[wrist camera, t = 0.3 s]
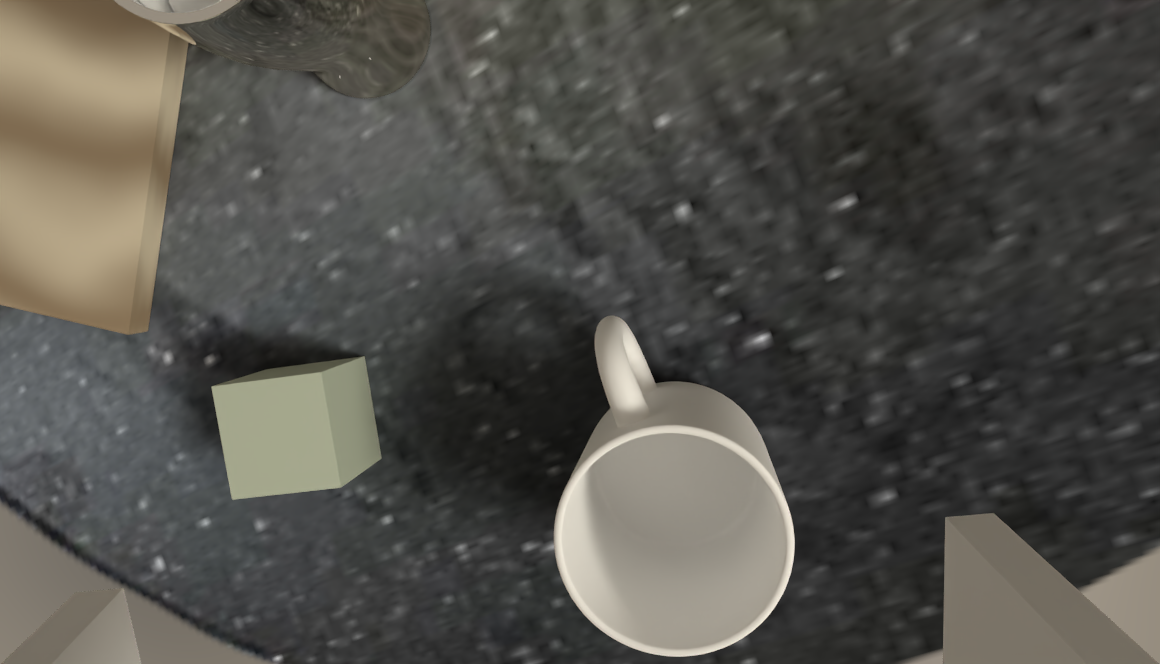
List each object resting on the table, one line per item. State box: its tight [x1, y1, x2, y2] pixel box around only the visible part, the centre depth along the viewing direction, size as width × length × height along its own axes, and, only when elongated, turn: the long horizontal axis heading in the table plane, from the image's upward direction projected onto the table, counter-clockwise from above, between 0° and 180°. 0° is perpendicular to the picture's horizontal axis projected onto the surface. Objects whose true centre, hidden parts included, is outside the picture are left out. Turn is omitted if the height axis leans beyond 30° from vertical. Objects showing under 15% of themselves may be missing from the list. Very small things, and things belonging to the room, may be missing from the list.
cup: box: [554, 316, 794, 657], centre depth 35 cm, size 8×12×10 cm
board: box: [0, 0, 189, 335], centre depth 41 cm, size 18×13×2 cm
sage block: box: [211, 356, 381, 500], centre depth 39 cm, size 5×5×5 cm
